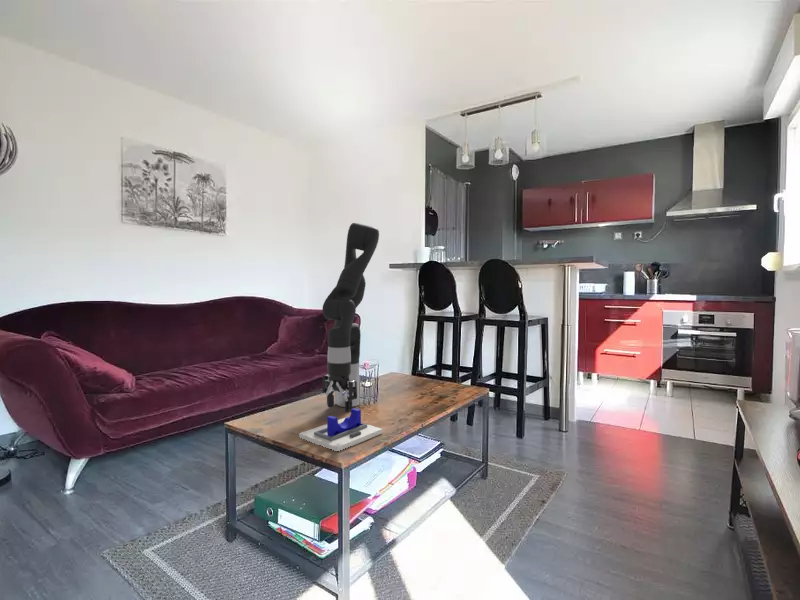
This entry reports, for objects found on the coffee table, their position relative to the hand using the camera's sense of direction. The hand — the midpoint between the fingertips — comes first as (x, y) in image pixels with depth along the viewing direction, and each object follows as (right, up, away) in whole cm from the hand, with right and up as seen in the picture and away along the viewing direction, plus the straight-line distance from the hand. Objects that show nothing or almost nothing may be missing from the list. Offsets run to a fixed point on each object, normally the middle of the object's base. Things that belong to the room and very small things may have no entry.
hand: (339, 409), depth 138 cm
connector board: (+1, -9, 0) cm, 9 cm away
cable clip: (+1, -7, 0) cm, 8 cm away
